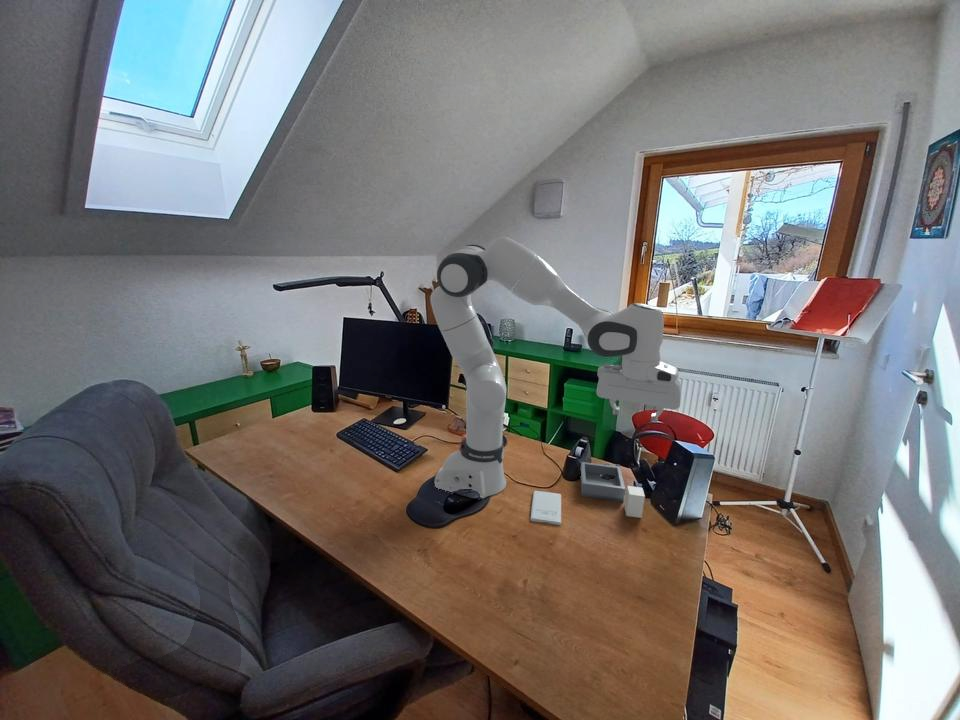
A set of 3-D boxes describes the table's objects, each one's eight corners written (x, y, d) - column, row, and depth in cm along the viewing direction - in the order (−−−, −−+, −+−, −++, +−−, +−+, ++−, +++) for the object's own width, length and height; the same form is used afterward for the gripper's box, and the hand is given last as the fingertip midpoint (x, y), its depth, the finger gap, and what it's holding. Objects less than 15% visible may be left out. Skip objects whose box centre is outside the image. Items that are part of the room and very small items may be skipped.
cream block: (626, 515, 108) (629, 494, 106) (624, 506, 111) (627, 485, 109) (641, 518, 107) (644, 496, 105) (639, 508, 110) (642, 487, 108)
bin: (581, 496, 116) (582, 483, 114) (580, 473, 127) (581, 461, 125) (623, 502, 113) (625, 488, 112) (618, 478, 124) (620, 466, 123)
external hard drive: (560, 498, 115) (560, 527, 104) (533, 494, 117) (530, 522, 105) (561, 493, 115) (561, 522, 103) (533, 490, 116) (530, 517, 105)
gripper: (595, 366, 100) (592, 414, 104) (683, 377, 90) (676, 430, 94) (600, 359, 105) (597, 406, 109) (685, 369, 96) (677, 420, 100)
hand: (634, 417), depth 102 cm, fingers open, 8 cm apart
